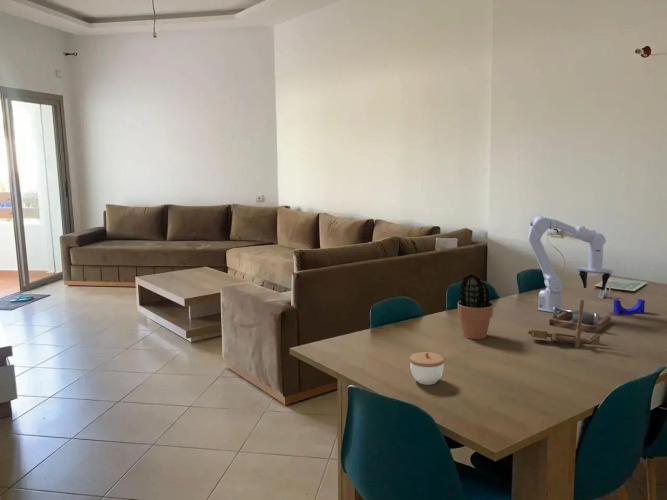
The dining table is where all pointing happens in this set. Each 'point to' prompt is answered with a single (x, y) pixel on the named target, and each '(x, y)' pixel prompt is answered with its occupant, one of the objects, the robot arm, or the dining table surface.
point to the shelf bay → (573, 325)
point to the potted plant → (474, 308)
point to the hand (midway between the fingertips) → (594, 288)
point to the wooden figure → (568, 337)
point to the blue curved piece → (636, 309)
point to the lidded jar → (427, 367)
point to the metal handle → (596, 316)
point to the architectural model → (604, 293)
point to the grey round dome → (583, 319)
